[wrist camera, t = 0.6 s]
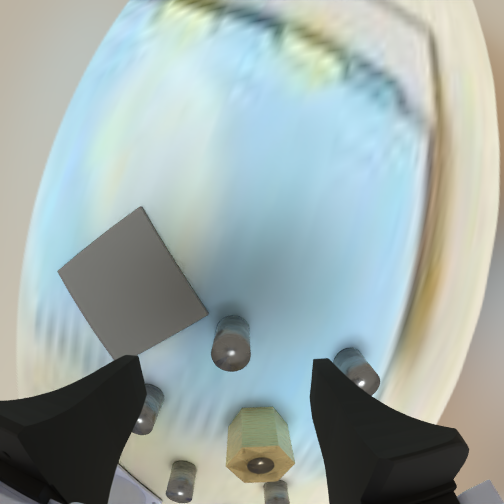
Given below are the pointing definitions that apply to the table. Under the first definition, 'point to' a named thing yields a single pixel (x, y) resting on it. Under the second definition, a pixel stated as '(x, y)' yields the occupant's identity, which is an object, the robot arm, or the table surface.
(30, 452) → the robot arm
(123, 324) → the mat
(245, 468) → the brass nut
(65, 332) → the table surface
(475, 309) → the table surface
